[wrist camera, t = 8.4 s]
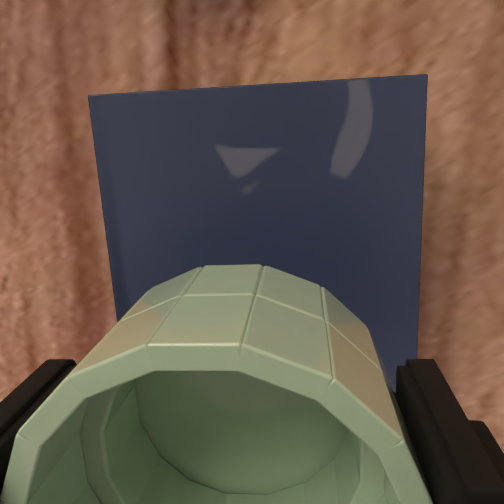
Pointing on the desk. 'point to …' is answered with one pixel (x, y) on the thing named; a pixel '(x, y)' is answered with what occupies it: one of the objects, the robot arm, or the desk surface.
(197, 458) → the bowl
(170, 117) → the book
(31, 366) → the desk surface
